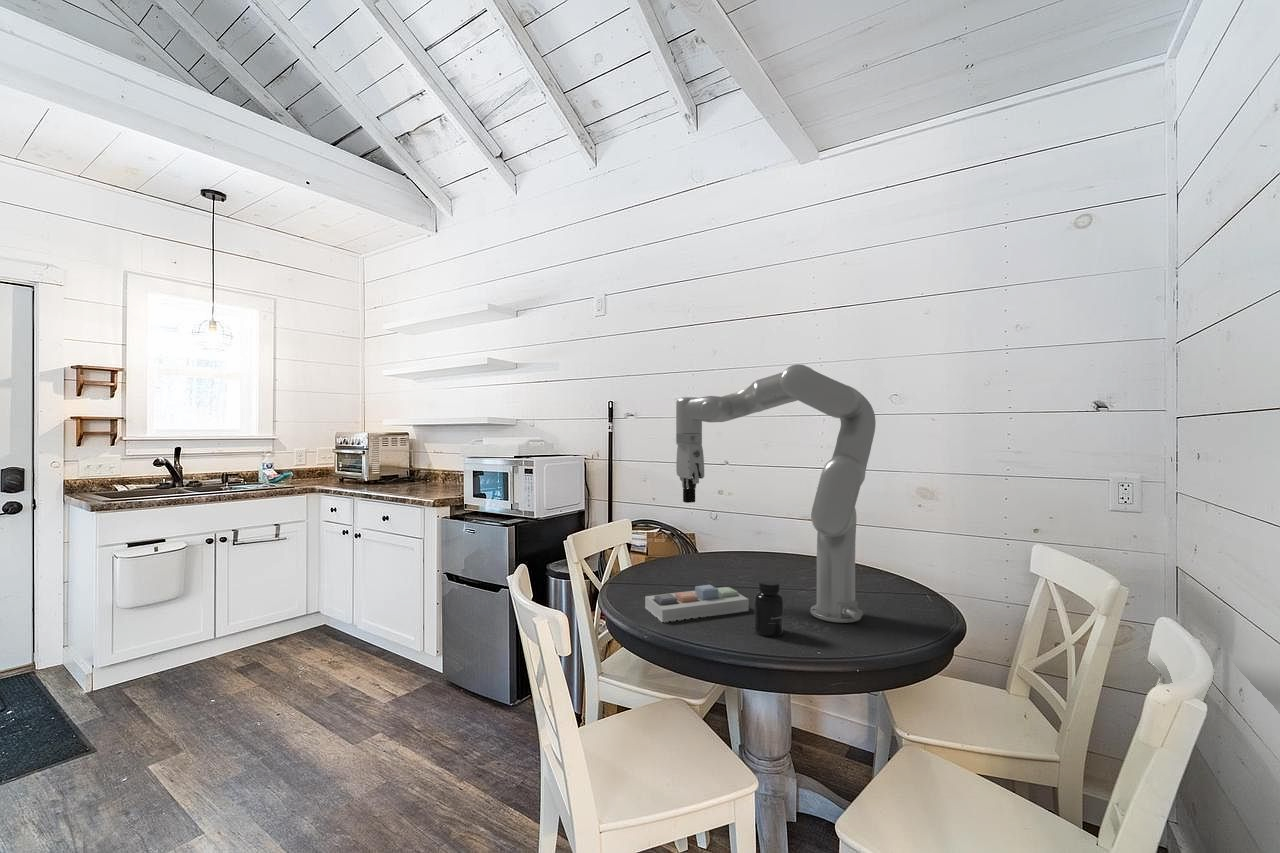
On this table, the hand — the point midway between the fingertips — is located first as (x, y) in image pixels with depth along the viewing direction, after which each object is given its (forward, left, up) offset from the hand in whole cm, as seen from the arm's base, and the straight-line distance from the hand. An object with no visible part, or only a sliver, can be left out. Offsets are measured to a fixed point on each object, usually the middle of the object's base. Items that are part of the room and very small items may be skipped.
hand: (689, 502), depth 168 cm
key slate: (-13, +1, -24) cm, 28 cm away
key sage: (-13, -5, -26) cm, 29 cm away
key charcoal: (-13, +13, -26) cm, 32 cm away
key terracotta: (-13, +7, -26) cm, 30 cm away
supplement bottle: (-34, -5, -27) cm, 44 cm away
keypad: (-13, +4, -27) cm, 30 cm away
